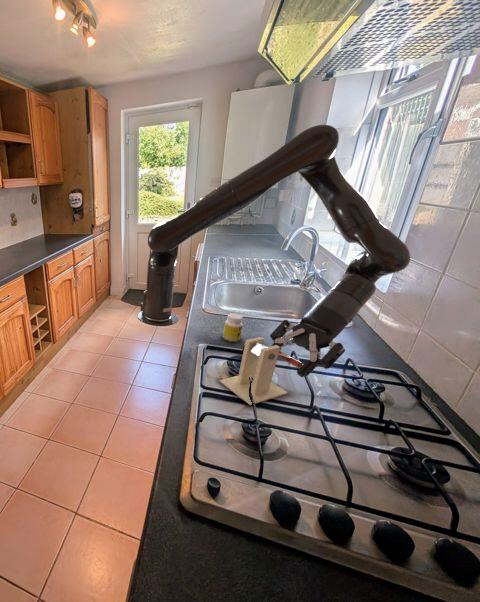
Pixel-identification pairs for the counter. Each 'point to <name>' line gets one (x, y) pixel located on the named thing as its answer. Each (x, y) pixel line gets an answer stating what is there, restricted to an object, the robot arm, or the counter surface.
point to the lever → (281, 355)
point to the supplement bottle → (233, 328)
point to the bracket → (256, 374)
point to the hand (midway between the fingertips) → (283, 365)
